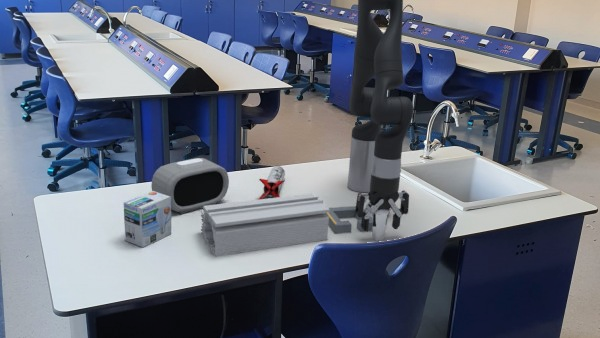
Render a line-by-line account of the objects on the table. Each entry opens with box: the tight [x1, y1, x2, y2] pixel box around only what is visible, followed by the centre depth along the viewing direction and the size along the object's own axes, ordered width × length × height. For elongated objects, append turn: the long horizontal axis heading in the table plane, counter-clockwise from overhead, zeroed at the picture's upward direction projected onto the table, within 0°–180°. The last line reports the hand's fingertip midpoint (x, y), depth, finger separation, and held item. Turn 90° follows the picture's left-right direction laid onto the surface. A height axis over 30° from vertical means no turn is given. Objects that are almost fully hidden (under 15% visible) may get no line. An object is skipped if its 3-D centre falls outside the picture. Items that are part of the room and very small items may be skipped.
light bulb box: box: [123, 190, 172, 248], centre depth 155 cm, size 11×7×11 cm, turn 148°
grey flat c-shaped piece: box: [325, 205, 372, 234], centre depth 171 cm, size 12×12×3 cm
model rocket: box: [257, 165, 286, 200], centre depth 193 cm, size 11×23×10 cm
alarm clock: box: [151, 157, 230, 214], centre depth 176 cm, size 21×10×13 cm, turn 131°
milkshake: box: [371, 207, 392, 242], centre depth 161 cm, size 4×5×10 cm
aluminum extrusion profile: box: [200, 193, 330, 257], centre depth 159 cm, size 14×31×10 cm, turn 113°
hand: (380, 229), depth 162 cm, fingers open, 8 cm apart
